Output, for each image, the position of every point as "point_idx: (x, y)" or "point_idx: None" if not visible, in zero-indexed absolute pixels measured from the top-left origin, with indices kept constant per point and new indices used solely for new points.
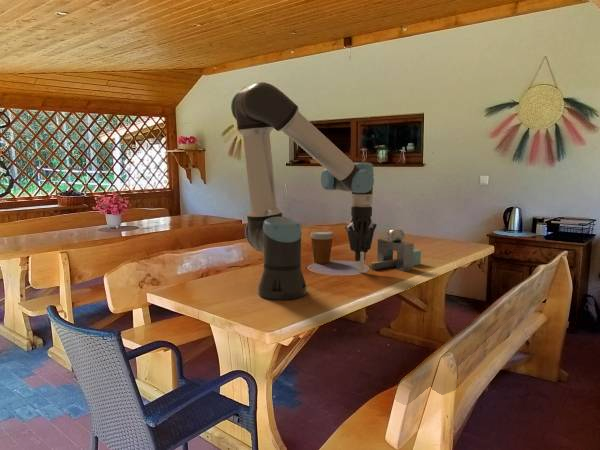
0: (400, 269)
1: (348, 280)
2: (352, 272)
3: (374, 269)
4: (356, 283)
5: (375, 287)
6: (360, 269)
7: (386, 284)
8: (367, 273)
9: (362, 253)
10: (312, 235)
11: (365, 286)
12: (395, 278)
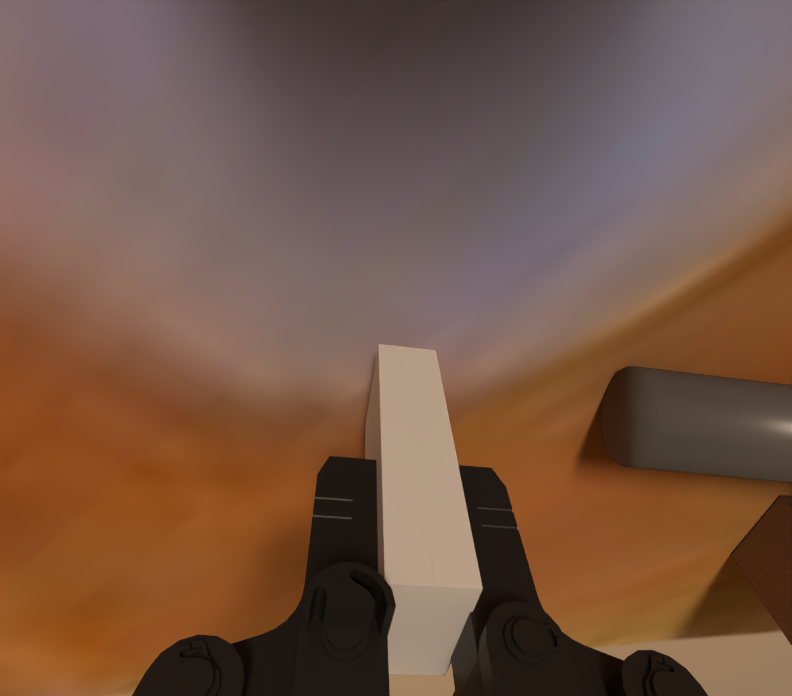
0: (756, 540)
1: (56, 492)
2: (320, 311)
3: (603, 413)
4: (77, 571)
5: None
6: (366, 426)
7: None
8: None
9: (395, 658)
10: None
11: (100, 633)
12: None
